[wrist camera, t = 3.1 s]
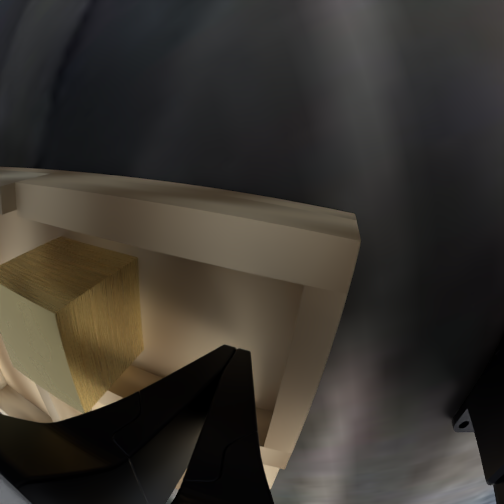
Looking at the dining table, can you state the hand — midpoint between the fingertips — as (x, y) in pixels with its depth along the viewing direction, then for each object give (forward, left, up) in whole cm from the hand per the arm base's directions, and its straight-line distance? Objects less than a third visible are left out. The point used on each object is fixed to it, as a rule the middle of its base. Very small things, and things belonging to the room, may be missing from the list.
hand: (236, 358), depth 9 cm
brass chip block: (+6, 0, -1) cm, 6 cm away
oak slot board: (+10, +5, -2) cm, 11 cm away
